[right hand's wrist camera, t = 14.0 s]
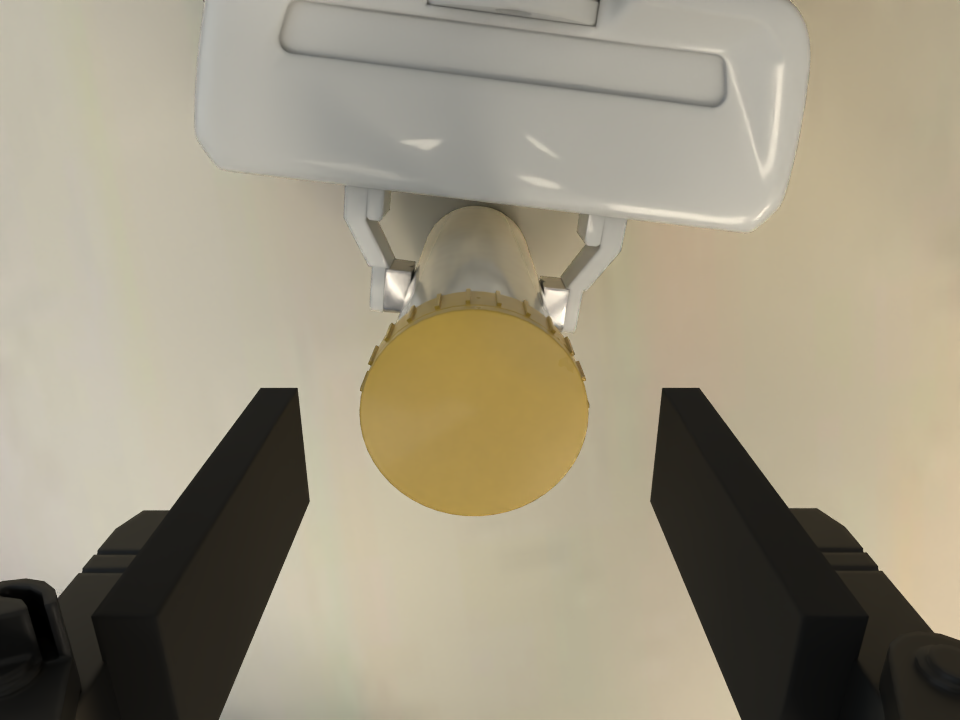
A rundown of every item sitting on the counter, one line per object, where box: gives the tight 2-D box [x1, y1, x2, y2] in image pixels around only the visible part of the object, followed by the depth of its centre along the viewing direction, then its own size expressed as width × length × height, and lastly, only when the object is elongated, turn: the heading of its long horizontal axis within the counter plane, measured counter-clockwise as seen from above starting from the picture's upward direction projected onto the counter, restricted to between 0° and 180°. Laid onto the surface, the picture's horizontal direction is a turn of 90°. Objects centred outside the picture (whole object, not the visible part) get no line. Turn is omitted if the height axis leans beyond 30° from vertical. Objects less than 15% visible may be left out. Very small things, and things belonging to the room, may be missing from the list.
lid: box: [360, 288, 589, 516], centre depth 17 cm, size 6×6×2 cm
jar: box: [396, 206, 554, 324], centre depth 24 cm, size 5×5×17 cm
